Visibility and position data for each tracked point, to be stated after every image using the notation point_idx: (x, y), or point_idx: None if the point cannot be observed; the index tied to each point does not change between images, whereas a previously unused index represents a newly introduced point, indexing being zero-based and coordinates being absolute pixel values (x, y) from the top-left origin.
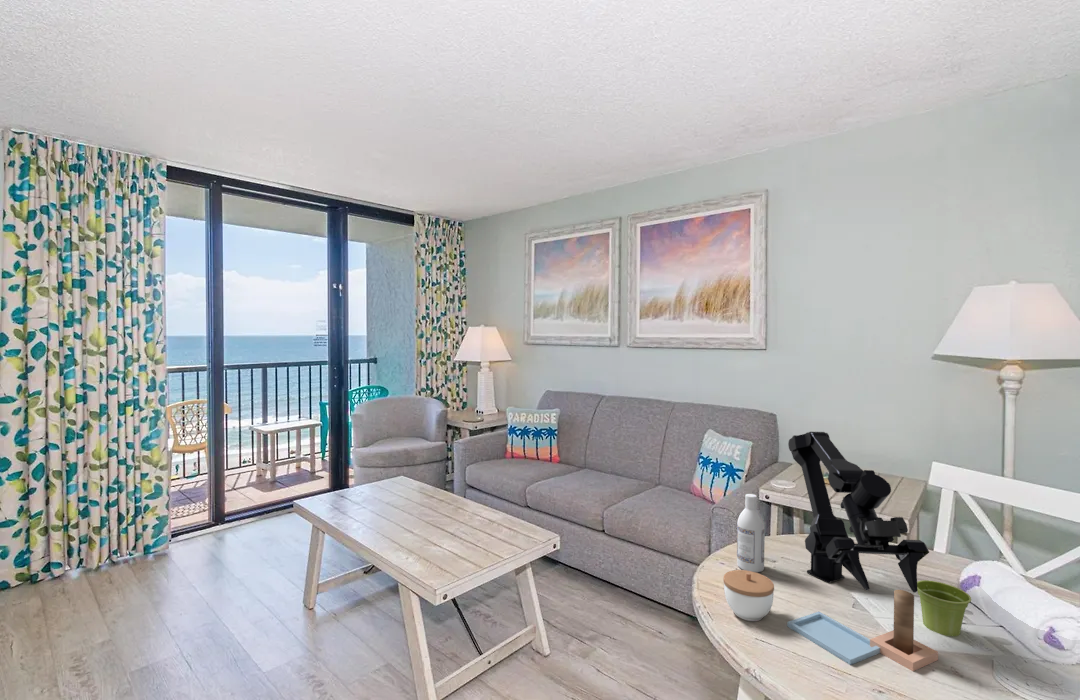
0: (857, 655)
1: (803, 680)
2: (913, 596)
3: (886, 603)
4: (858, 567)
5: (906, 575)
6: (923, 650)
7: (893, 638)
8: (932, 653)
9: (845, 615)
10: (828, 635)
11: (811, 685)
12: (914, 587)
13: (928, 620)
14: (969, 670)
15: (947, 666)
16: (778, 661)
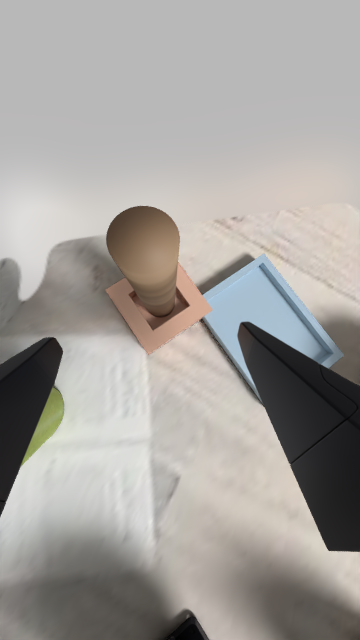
0: (248, 267)
1: (328, 224)
2: (115, 220)
3: (89, 518)
4: (333, 382)
5: (14, 436)
6: (130, 289)
7: (173, 304)
8: (118, 282)
9: (207, 433)
10: (271, 334)
11: (320, 215)
12: (46, 343)
13: (50, 406)
14: (72, 284)
15: (101, 289)
16: (355, 260)
